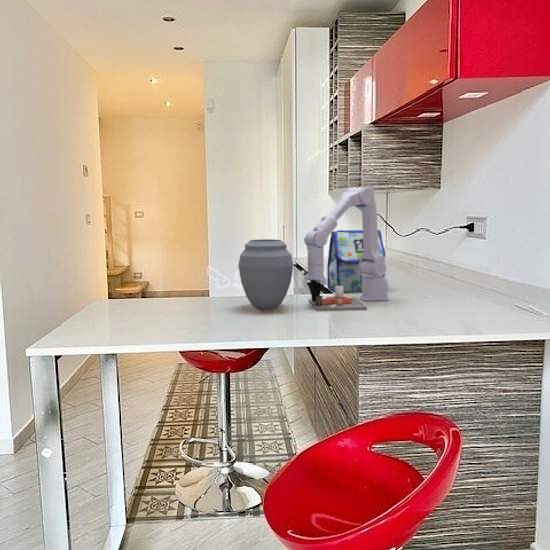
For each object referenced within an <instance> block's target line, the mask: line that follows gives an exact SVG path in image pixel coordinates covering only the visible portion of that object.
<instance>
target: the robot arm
mask: <svg viewBox="0 0 550 550" xmlns="http://www.w3.org/2000/svg"><path fill="white" fill-rule="evenodd" d="M341 194H342V195H341V198H340V200H339V201H338V203H336V206H335V207H334V208H333V209H332V211H331V212H330V214H326V215H323V216H321V218H320V220H319V222H318V223H317V224H316V225H315V226H314V227H313V229H312V230H309V231H307V232H306V234H305V236H304V237H305V238H303V242H304V244H305V245H306V250H307V273H306V274H305V275H304V280H307V281H308V280H309V282H306V285H307V286H308V288H309V291H310V296H311V299H312V302H315V300H316V296H321V292H322V289H323V288H324V286H325V285H327V277H325V276H324V274H325V273H324V270H325V269H324V261H325V260H324V259H325V258H324V253H325V252H324V251H325V249H324V247H325V245H327V243H328V239H329V236H331V232H332V231H334V230H335V229H336V228H337V227H338V220H339V219H340V218H341V217H342V216H343V215H344V214H345V213H346V212H347V211H348V210H349V208H351V207H355V208H357V209H358V210H359V211H360V212H361V219H362V220H361V221H362V222H361V223H362V230H363V246H364V253H363V254H362V255H361V256H360V262H359V266H358V268H359V272H360V273H361V276H363V284H362V291H361V293H362V295H361V296H359V297H358V298H359V299H361V300H362V301H364V302H371V301H372V302H373V301H374V302H375V301H376V302H377V301H380V302H381V301H389V299H388V298H389V295H388V294H389V288H388V287H389V282H388V278H387V277H386V276H385V277H383V275H384V274H385V275H386V270H387V265H386V264H387V263H386V261H385V262H384V260H385V258H384V257H383V256H382V255H381V254H380V253H379V252H378V234H377V230H378V218H377V217H378V216H377V215H378V213H377V212H378V210H377V203H376V201H375V192H374V190H372V188H370V187H368V186H363V187H362V186H361V187H360V186H359V187H347V188H346V190H345V191H344V192H343V193H341Z"/></svg>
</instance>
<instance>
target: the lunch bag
mask: <svg viewBox="0 0 550 550" xmlns="http://www.w3.org/2000/svg"><path fill="white" fill-rule="evenodd" d="M377 234H378V252H379V253H380V254H381V255H382V256H383V257H384V262H385V263H386V261H385V260H386V259H385V257H386V249H385V246H384V242H383V236H382V231H381V230H380V229H377ZM328 247H329V248H328V254H327V255H328V258H327V266H326V267H327V270H326V271H327V273H326V275H327V277H326V279H327V284H326V285H327V289H329V290H333V291H334V292H335V286H343V293H350V292H352V293H353V292H354V293H357V292H362V284H363V276H361V273H360V272H359V268H358V266H359V262H360V256H361V255H362V254H363V253H364V246H363V229H360V230H359V229H357V230H355V229H354V230H346V229H345V230H341V229H340V230H339V229H338V230H335V231H334V230H333V231H332V232H331V233H330V240H329V246H328ZM385 275H386V273H385V274H384V275H383V277H386V276H385Z"/></svg>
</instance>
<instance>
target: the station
mask: <svg viewBox="0 0 550 550" xmlns="http://www.w3.org/2000/svg"><path fill="white" fill-rule="evenodd" d="M334 296H335V299H343V296H344V292H343V286H335V291H334ZM351 298H352V303H345V304H342V306H337V304H325V305H316V304H315V302H312V298H308V302H309V304H310V306H312V308H313V310H315V312H329V311H332V312H333V311H336V312H337V311H367V310H368V307H367V306H366V305H365V304H364V303H362V302H361V301H360V300H358V298H355V297H351ZM322 299H326V298H323V297H322Z"/></svg>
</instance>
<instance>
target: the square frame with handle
mask: <svg viewBox="0 0 550 550" xmlns="http://www.w3.org/2000/svg"><path fill="white" fill-rule="evenodd" d="M322 298H323V295H320V296H316V300H315V304H316V305H325V304H337V300H342V304H345V303H352V298H353V297H348V296H344V295H343V299H335V295H334V296H326V299H322Z"/></svg>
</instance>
